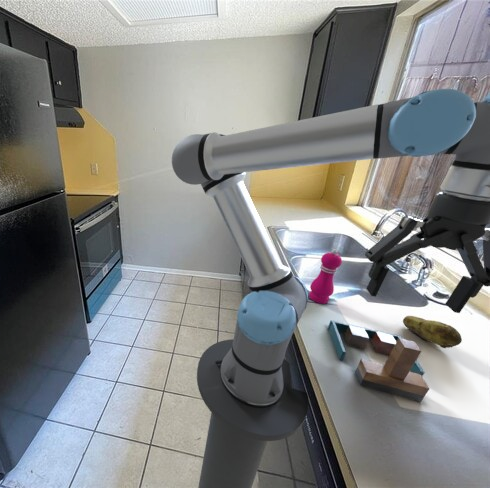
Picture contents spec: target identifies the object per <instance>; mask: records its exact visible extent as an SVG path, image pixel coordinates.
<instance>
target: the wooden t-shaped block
mask: <svg viewBox="0 0 490 488" xmlns="http://www.w3.org/2000/svg"><path fill="white" fill-rule="evenodd" d="M421 353H422V350H421V348H420V347H419V346H418V344H417V343H416V342H415V341H414V340H409V339H405V338H402V339H401V338H398V340H397V342H396V344H395V346H394V348H393V350H392V351H391V353H390V355H388V357H387V358H386V361H385V363H384V364H382V363H377V362H374V361H371V360H366V359H362V358H361V359H360V360H359V362H358V365H357V366H356V368H355V370H354V373H355V375H356V378H357V381H358V383H359V386H362V387H366V388H369V389H373V390H376V391H380V392H384V393H387V394H391V395H395V396H398V397H401V398H405V399H408V400H411V401H416V402H419V403H421V402H422V401H423V399H424V398H425V397H426V395H427V393H428V392H429V391H430V387H429V385H428V384H427V383H426V381H425V379H424V378H423V376H421V375H420V374H417V373H413V372H411V371H410V370H411V368H412V366H413V365H414V363H415V361H416V360H417V361H418V358H419V356H420V355H421Z"/></svg>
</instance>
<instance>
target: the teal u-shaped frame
mask: <svg viewBox="0 0 490 488" xmlns="http://www.w3.org/2000/svg"><path fill="white" fill-rule="evenodd" d="M348 326H354V327H358V328H362V329H365V331H366V333H367V335H368V337H369V340H372V339H373V337H374V334H375V332H380V333H384V334H388V335H392V336H393V337H394V339H395V340H396V342H397V340H398V338H401V339H403V336H401V335H399V334H395V333H390V332H385V331H381V330H376V329H372V328H367V327H363V326H359V325H354V324H350V323H346V322H342V321H336V320H330V321H329V323H328V327H327V329H328V331H329V333H330V336H331V340H332V342H333V345H334V348H335V351H336V354H337V357H338V360H340V361H344V359H345V357H346V354H347V350H346V348H345V345H344V343H343V340H342V338H341V334H340V333H343V334H345V333H346V331H347V329H348ZM409 372H413V373H417V374H420V375H421V376H422V377H424V375H425V370H424V369H423V367H422V366H421V365H420V363H419V362H418V359H417V360H416V361H415V363H414V365H413V366H412V368H411V370H410V371H409Z"/></svg>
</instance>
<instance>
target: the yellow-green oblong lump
mask: <svg viewBox="0 0 490 488" xmlns="http://www.w3.org/2000/svg"><path fill="white" fill-rule="evenodd" d="M402 323H403V325H404V326H405V328H406V329H408V330H409V331H412V332H413V333H414V334H415V335H417V336H418V337H419V338H420V339H423V340H425V341H427V342H429V343H434V344H436V346H437V345H438V346H439V347H440V348H442V349H447V348H448V349H449V348H453V347H456V346H459V345H460V344H461V343H462V341H463V338H462V335H461V333H460V332H459V331H458V329H456V328H455V327H454V326H452V325H450V324H447V323H443V322H442V321H437V320H430V319H424V318H422V317H419V316H415V315H406V316H405V317H404V318H403V320H402Z"/></svg>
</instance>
